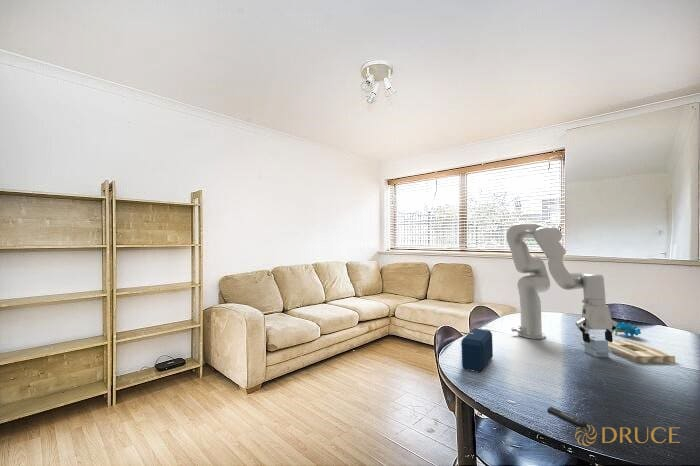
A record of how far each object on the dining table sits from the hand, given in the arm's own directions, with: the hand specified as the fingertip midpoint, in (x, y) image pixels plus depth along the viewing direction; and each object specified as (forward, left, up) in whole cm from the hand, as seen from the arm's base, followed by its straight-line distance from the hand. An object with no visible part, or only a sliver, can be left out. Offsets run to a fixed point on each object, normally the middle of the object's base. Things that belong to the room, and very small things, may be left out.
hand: (597, 341), depth 135 cm
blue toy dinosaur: (+34, +26, -6) cm, 43 cm away
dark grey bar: (-46, -48, -6) cm, 67 cm away
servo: (0, +1, -6) cm, 6 cm away
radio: (-56, -9, -6) cm, 57 cm away
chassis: (+16, +1, -6) cm, 17 cm away
